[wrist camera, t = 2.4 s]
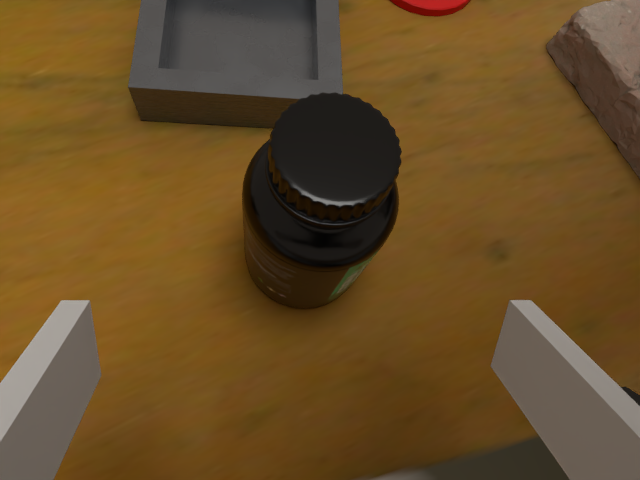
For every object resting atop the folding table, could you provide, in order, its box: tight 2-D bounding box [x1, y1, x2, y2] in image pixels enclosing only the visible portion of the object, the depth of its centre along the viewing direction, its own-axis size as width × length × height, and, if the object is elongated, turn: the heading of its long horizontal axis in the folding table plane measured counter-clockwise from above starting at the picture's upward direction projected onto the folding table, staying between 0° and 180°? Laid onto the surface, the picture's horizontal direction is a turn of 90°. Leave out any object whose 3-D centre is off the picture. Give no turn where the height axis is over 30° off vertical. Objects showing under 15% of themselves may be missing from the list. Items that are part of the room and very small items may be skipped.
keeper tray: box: [128, 0, 343, 128], centre depth 30 cm, size 12×12×3 cm
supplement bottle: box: [242, 92, 402, 308], centre depth 22 cm, size 7×7×12 cm
